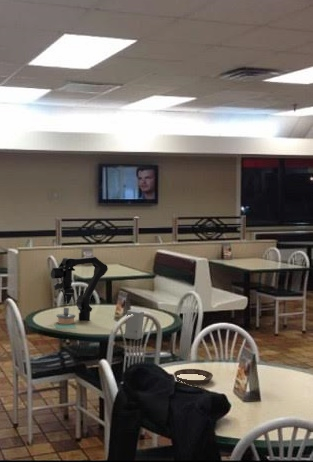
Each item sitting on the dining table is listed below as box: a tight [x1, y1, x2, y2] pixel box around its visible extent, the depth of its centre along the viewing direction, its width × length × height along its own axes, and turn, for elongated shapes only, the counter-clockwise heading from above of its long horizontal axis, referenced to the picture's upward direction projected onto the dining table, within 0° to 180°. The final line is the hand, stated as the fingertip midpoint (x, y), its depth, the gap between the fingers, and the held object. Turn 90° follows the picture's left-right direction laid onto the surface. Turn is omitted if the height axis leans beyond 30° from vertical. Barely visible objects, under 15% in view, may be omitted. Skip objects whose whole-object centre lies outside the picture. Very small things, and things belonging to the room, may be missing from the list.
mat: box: [53, 323, 77, 330], centre depth 379 cm, size 12×12×1 cm
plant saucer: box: [173, 368, 214, 385], centre depth 282 cm, size 18×18×3 cm
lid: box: [56, 307, 76, 319], centre depth 390 cm, size 12×12×5 cm
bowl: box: [57, 317, 75, 324], centre depth 391 cm, size 10×10×4 cm
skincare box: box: [124, 309, 145, 341], centre depth 358 cm, size 8×7×16 cm
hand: (66, 302), depth 392 cm, fingers open, 9 cm apart
